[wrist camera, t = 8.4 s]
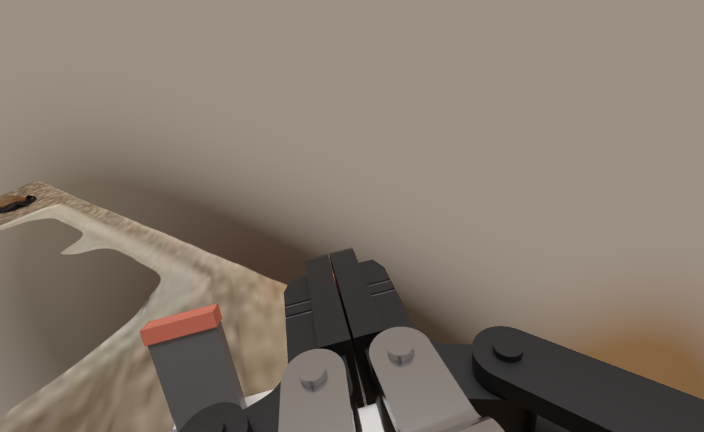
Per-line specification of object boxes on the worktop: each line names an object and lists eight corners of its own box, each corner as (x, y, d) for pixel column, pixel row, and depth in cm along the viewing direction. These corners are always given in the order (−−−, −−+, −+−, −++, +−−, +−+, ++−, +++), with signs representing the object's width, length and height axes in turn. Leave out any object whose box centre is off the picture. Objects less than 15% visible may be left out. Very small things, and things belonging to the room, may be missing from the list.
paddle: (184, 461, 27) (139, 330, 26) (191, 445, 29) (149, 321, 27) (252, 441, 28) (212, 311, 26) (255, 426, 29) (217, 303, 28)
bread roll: (-14, 220, 102) (-23, 209, 100) (2, 208, 109) (-6, 197, 107) (27, 209, 103) (19, 198, 102) (40, 198, 111) (33, 187, 109)
